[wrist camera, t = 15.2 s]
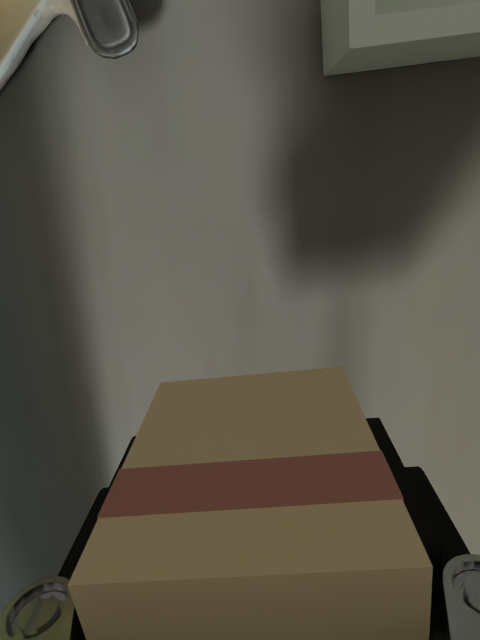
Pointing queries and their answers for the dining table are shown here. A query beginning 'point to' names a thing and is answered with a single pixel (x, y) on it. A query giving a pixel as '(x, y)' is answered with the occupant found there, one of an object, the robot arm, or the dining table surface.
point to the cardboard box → (254, 521)
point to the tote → (397, 33)
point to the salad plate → (88, 13)
